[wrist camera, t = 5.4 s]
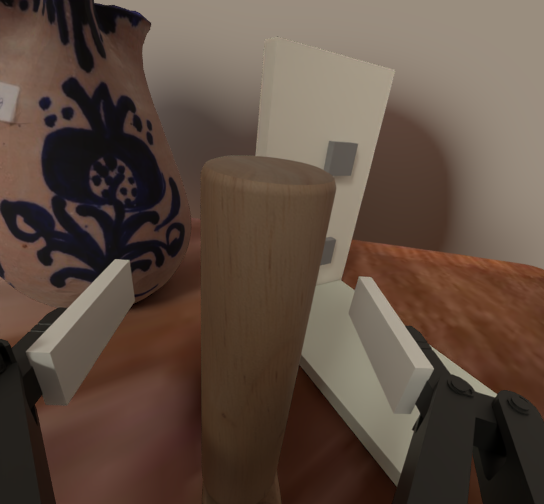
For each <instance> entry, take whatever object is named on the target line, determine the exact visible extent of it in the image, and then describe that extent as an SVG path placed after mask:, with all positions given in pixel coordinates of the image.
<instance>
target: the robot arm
mask: <svg viewBox="0 0 544 504" xmlns="http://www.w3.org/2000/svg"><path fill="white" fill-rule="evenodd" d="M134 302H135V297H134V289H133V282H132V274H131V267H130V260H121V259H115V260H114V261H113V262H112V263H111V264H110V265H109V266H108V267H107V268H106V269H105V270H104V271H103V272H102V273H101V274H100V275H99V276H98V277H97V278H96V279H95V280H94V282H93V283H92V284H91V285H90V286H89V287H88V288H87V289H86V290H85V291H84V292H83V293H82V294H81V295H80V296H79V297H78V298H77V299H76V300H75V301H74V302H73V303H72V304H71V305H70V306H69V307H68V308H64V307H59V308H57V309H55V310H54V311H52V312H50V313H48V314H47V315H46V316H45V317H44V318H43V319H42V320H41V321H39V322H38V325H35V326H34V327H33V328H32V329H31V331H30V332H28V333H27V334H26V335H25V336H24V337H23V338H22V339H21V340H20V341H19V342H18V343H17V344H16V345H15V346H13V347H12V348H11V346H10V344H9V343H8V341H5V340H2V339H0V504H56V502H55V497H54V492H53V487H52V482H51V477H50V472H49V467H48V463H47V458H46V453H45V448H44V443H43V438H42V433H41V428H40V423H39V418H38V414H37V409H36V407H35V403H36V402H37V401H38V399H39V398H40V397H41V395H42V396H43V398H44V401H45V404H46V405H68V403H69V402H70V400H71V399H72V397H73V396H74V394H75V393H76V391H77V390H78V388H79V386H80V385H81V383H82V382H83V380H84V379H85V377H86V376H87V374H88V373H89V371H90V369H91V368H92V366H93V365H94V363H95V362H96V360H97V359H98V357H99V356H100V354H101V352H102V351H103V349H104V348H105V346H106V345H107V343H108V342H109V340H110V339H111V337H112V335H113V334H114V332H115V331H116V329H117V328H118V326H119V325H120V323H121V322H122V320H123V319H124V317H125V315H126V314H127V312H128V311H129V309H130V308H131V306H132V305H133V303H134ZM348 314H349V316H350V318H351V320H352V322H353V325H354V327H355V329H356V331H357V334H358V336H359V338H360V340H361V342H362V345H363V347H364V349H365V351H366V354H367V356H368V358H369V360H370V362H371V365H372V367H373V369H374V371H375V374H376V376H377V378H378V380H379V382H380V385H381V387H382V389H383V391H384V394H385V396H386V398H387V400H388V402H389V405H390V407H391V409H392V411H393V414H411V412H412V411H413V409H414V407H415V405H416V406H417V408H418V410H419V412H420V415H419V417H418V419H417V421H416V422H415V424H414V426H413V428H412V430H413V431H414V432H413V436H412V439H411V442H410V446H409V449H408V452H407V455H406V459H405V462H404V465H403V469H402V472H401V475H400V479H399V482H398V485H397V489H396V492H395V495H394V499H393V502H392V504H467V503H468V492H469V481H470V471H471V460H472V453H473V458H474V463H475V468H476V473H477V477H478V482H479V487H480V492H481V497H482V502H483V504H544V421H543V419H542V417H541V415H540V413H539V412H538V410H537V409H536V407H535V406H534V405H533V404H532V403H531V402H529V401H528V400H527V399H525V398H524V397H522V396H521V395H519V394H516V393H514V392H511V391H507V390H503V391H500V392H499V393H498V394H497V396H496V397H492V396H489V395H485V394H482V393H479V392H476V391H475V390H474V389H473V387H472V386H471V385H470V384H469V383H468V382H467V381H465V380H463V379H462V378H460V377H458V376H455V375H453V374H450V372H449V371H448V370H447V368H446V367H445V365H444V364H443V363H442V361H441V360H440V359H439V357H438V356H437V355H436V353H435V352H434V351H433V350H432V348H431V346H430V345H429V344H428V343H427V341H426V340H425V338H424V337H423V336H422V334H421V333H420V332H418V331H417V330H416V329H415V328H414V327H412V326H404V324H403V323H402V321H401V320H400V318H399V317H398V315H397V314H396V312H395V311H394V310H393V308H392V307H391V305H390V304H389V302H388V301H387V299H386V298H385V296H384V295H383V294H382V292H381V291H380V289H379V288H378V286H377V285H376V283H375V282H374V280H373V279H372V278H371V277H360V276H359V278H358V282H357V285H356V288H355V292H354V295H353V299H352V302H351V306H350V309H349V313H348Z"/></svg>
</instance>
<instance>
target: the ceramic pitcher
mask: <svg viewBox="0 0 544 504" xmlns="http://www.w3.org/2000/svg"><path fill="white" fill-rule="evenodd" d="M150 27H151V23H150V22H149V21H148V20H147V19H146V18H145V17H143V16H142V15H141V14H140V13H138V12H136V11H130V10H127V9H124V8H121V7H118V6H115V5H102V4H97V3H94V0H0V277H2V278H3V279H4V280H5V281H6V282H7V283H9V284H10V285H11V286H12V287H13V288H14V289H16V290H18V291H19V292H21V293H23V294H24V295H26V296H28V297H30V298H32V299H34V300H36V301H39V302H41V303H44V304H46V305H49V306H52V307H57V308H59V307H64V308H68V307H69V306H70V305H71V304H72V303H73V302H74V301H75V300H76V299H77V298H78V297H79V296H80V295H81V294H82V293H83V292H84V291H85V290H86V289H87V288H88V287H89V286H90V285H91V284H92V283H93V282H94V280H95V279H96V278H97V277H98V276H99V275H100V274H101V273H102V272H103V271H104V270H105V269H106V268H107V267H108V266H109V265H110V264H111V263H112V262H113V261H114V260H115V259H121V260H130V267H131V274H132V282H133V289H134V297H135V302H134V303H136V302H138V301H140V300H142V299H144V298H146V297H147V296H149V295H151V294H152V293H154V292H155V291H156V290H158V289H159V288H161V287H162V286H163V285H164V284H165V283H166V282H168V281H169V279H170V278H171V277H172V275H173V274H174V273H175V271H176V270H177V268H178V267H179V265H180V263H181V261H182V259H183V257H184V255H185V253H186V250H187V248H188V245H189V240H190V234H191V215H190V208H189V204H188V200H187V196H186V193H185V189H184V185H183V183H182V180H181V177H180V174H179V171H178V168H177V166H176V163H175V161H174V158H173V155H172V152H171V150H170V147H169V144H168V142H167V139H166V136H165V134H164V131H163V128H162V125H161V122H160V119H159V117H158V114H157V112H156V109H155V107H154V104H153V101H152V98H151V95H150V92H149V89H148V85H147V82H146V78H145V74H144V70H143V59H142V46H143V43H144V40H145V37H146V35H147V33H148V32H149V30H150Z"/></svg>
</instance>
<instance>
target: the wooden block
mask: <svg viewBox="0 0 544 504" xmlns="http://www.w3.org/2000/svg"><path fill="white" fill-rule="evenodd" d="M335 193H336V183H335V178H334V177H333V176H332V175H331V174H330V173H328V172H326V171H324V170H323V169H321V168H318V167H316V166H313V165H309V164H306V163H302V162H297V161H292V160H286V159H280V158H272V157H263V156H241V155H239V156H238V155H235V156H223V157H219V158H215V159H212V160H209V161H207V162H206V163H205V165H204V167H203V169H202V171H201V412H202V476H203V489H202V504H282V501H281V495H280V488H279V482H278V475H277V466H278V461H279V456H280V452H281V447H282V442H283V438H284V433H285V428H286V424H287V419H288V414H289V409H290V405H291V400H292V395H293V391H294V386H295V381H296V376H297V372H298V367H299V362H300V358H301V353H302V348H303V344H304V339H305V334H306V329H307V325H308V320H309V315H310V311H311V306H312V301H313V297H314V292H315V287H316V282H317V278H318V273H319V268H320V264H321V259H322V254H323V250H324V245H325V240H326V235H327V231H328V226H329V221H330V217H331V212H332V207H333V203H334V198H335Z"/></svg>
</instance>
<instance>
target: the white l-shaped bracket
mask: <svg viewBox="0 0 544 504" xmlns="http://www.w3.org/2000/svg"><path fill="white" fill-rule="evenodd" d="M394 73H395V70H393V69H389V68H386V67H382V66H379V65H375V64H372V63H368V62H365V61H361V60H358V59H354V58H351V57H347V56H344V55H340V54H337V53H333V52H330V51H326V50H323V49H320V48H316V47H312V46H309V45H305V44H301V43H298V42H295V41H292V40H288V39H285V38H281V37H274V38H270V39H267V40H265V45H264V57H263V70H262V82H261V95H260V108H259V121H258V134H257V146H256V156H263V157H272V158H280V159H286V160H292V161H297V162H302V163H306V164H309V165H313V166H316V167H318V168H321V169H323V170H324V171H326V172H328V173H330V174H331V175H332V176H333V177H334V178H335V183H336V193H335V198H334V203H333V207H332V212H331V217H330V221H329V226H328V231H327V235H326V240H325V245H324V250H323V254H322V259H321V264H320V268H319V273H318V278H317V282H316V287H315V292H314V297H313V301H312V306H311V311H310V315H309V320H308V325H307V329H306V334H305V339H304V344H303V348H302V353H301V358H300V362H299V365H300V366H301V367H302V368H303V370H304V371H305V372H306V373H307V375H308V376H309V377H310V378H311V380H312V381H313V382H314V384H315V385H316V386H317V387H318V389H319V390H320V391H321V392H322V394H323V395H324V396H325V397H326V399H327V400H328V401H329V402H330V404H331V405H332V406H333V407H334V409H335V410H336V411H337V412H338V414H339V415H340V416H341V417H342V419H343V420H344V421H345V422H346V424H347V425H348V426H349V427H350V429H351V430H352V431H353V433H354V434H355V435H356V436H357V438H358V439H359V440H360V441H361V443H362V444H363V445H364V446H365V448H366V449H367V450H368V451H369V453H370V454H371V455H372V456H373V458H374V459H375V460H376V461H377V463H378V464H379V465H380V466H381V468H382V469H383V470H384V471H385V473H386V474H387V475H388V476H389V478H390V479H391V480H392V481H393V483H394V484H395V485H396V487H397V485H398V482H399V479H400V475H401V472H402V469H403V465H404V462H405V459H406V455H407V452H408V449H409V446H410V442H411V439H412V436H413V432H414V431H413V430H412V428H413V426H414V424H415V422H416V421H417V419H418V417H419V415H420V412H419V410H418V408H417V406H416V405H415V407H414V409H413V411H412V412H411V414H393V411H392V409H391V407H390V405H389V402H388V400H387V398H386V396H385V394H384V391H383V389H382V387H381V385H380V382H379V380H378V378H377V376H376V374H375V371H374V369H373V367H372V365H371V362H370V360H369V358H368V356H367V354H366V351H365V349H364V347H363V345H362V342H361V340H360V338H359V336H358V334H357V331H356V329H355V327H354V325H353V322H352V320H351V318H350V316H349V314H348V313H349V309H350V306H351V302H352V299H353V295H354V292H355V290H353V289H352V288H351V287H349V286H348V285H347V284H345V283H344V282H343V281H341V279H342V276H343V272H344V268H345V264H346V260H347V256H348V252H349V248H350V244H351V241H352V237H353V233H354V229H355V225H356V221H357V217H358V213H359V209H360V206H361V202H362V198H363V194H364V190H365V186H366V182H367V178H368V174H369V170H370V167H371V163H372V159H373V155H374V151H375V147H376V143H377V139H378V136H379V131H380V127H381V124H382V120H383V116H384V112H385V108H386V104H387V101H388V96H389V92H390V89H391V85H392V81H393V77H394ZM431 348H432V350H433V351H434V352H435V353H436V355H437V356H438V357H439V359H440V360H441V361H442V363H443V364H444V365H445V367H446V368H447V370H448V371H449V372H450V374H453V375H455V376H458V377H460V378H462V379H463V380H465V381H467V382H468V383H469V384H470V385H471V386H472V387H473V389H474V390H475V391H476V392H479V393H482V394H485V395H489V396H492V397H496V396H497V394H496V393H494V392H493V391H492V390H490V389H489V388H488V387H486V386H485V385H483V384H482V383H481V382H479V381H478V380H477V379H475V378H474V377H473V376H471V375H470V374H468V373H467V372H466V371H464V370H463V369H462V368H460V367H459V366H457V365H456V364H455V363H453V362H452V361H451V360H449V359H448V358H447V357H445V356H444V355H442V354H441V353H440V352H438V351H437V350H436V349H434V348H433V347H431Z"/></svg>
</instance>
